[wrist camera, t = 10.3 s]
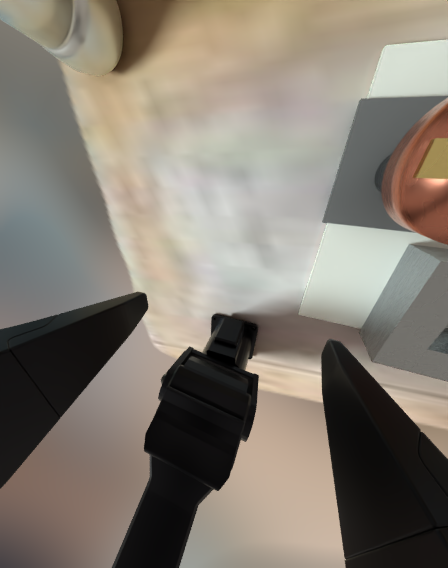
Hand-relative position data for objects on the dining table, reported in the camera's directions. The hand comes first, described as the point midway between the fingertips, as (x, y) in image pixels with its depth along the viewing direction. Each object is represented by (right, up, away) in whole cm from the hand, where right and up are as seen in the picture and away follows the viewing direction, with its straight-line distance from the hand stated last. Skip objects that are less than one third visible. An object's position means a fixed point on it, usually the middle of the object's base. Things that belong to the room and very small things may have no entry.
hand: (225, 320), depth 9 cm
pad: (+13, +10, +5) cm, 17 cm away
